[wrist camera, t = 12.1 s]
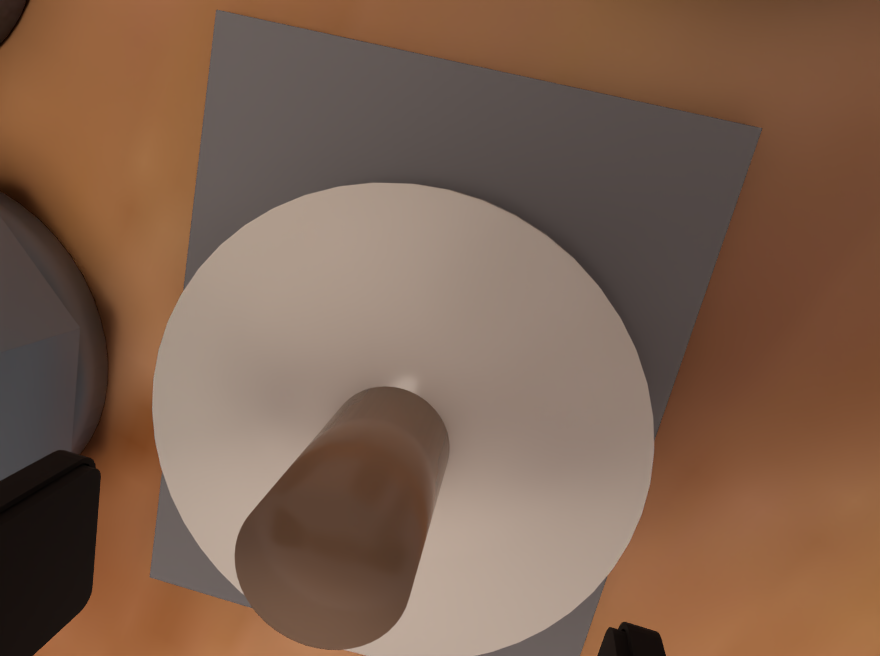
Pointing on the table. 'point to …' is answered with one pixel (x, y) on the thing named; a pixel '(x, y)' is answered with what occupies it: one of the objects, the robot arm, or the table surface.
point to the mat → (473, 173)
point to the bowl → (45, 345)
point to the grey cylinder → (9, 15)
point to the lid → (402, 422)
